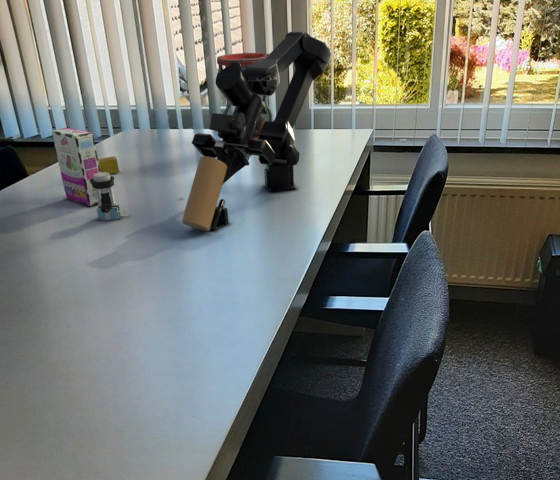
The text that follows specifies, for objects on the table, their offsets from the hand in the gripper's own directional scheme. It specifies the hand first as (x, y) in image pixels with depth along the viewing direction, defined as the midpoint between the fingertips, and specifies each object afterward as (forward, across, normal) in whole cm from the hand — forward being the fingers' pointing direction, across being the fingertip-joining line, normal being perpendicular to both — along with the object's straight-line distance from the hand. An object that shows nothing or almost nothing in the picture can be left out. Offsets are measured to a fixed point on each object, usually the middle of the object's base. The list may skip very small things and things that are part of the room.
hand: (219, 183), depth 134 cm
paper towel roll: (+9, 0, +2) cm, 9 cm away
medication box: (-4, -52, +16) cm, 55 cm away
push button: (+13, -24, -1) cm, 27 cm away
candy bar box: (+8, -40, +4) cm, 41 cm away
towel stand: (+9, 0, +3) cm, 9 cm away
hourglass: (-37, -32, +48) cm, 68 cm away
